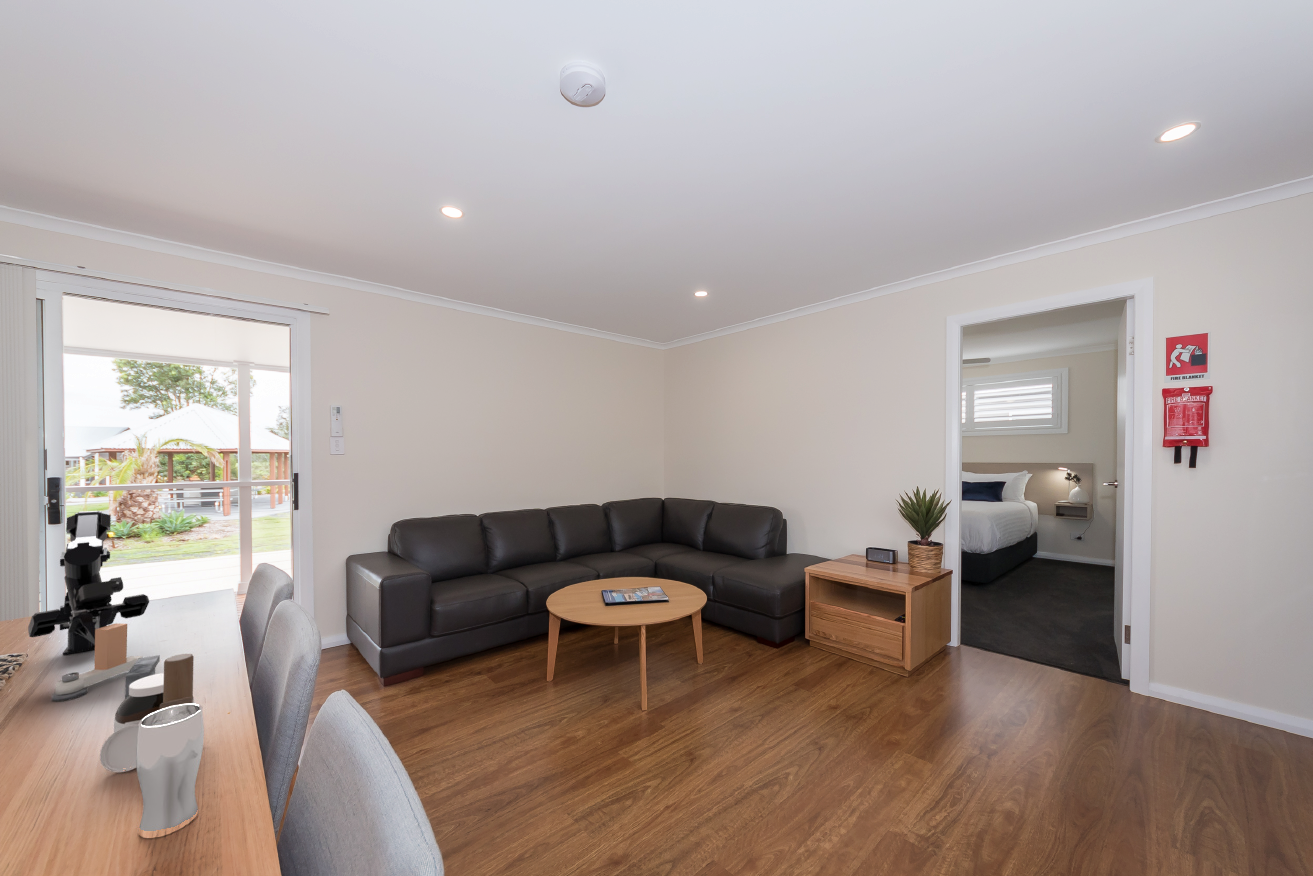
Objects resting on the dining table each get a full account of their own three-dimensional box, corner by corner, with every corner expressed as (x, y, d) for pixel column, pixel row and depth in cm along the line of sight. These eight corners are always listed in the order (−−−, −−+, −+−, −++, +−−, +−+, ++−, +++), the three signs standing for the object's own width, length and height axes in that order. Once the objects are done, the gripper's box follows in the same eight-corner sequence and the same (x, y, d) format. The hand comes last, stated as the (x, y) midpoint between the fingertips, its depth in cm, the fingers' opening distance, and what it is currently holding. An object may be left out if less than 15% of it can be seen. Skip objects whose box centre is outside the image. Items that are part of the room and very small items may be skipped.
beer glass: (213, 812, 75) (216, 707, 75) (154, 847, 68) (156, 731, 69) (182, 801, 77) (184, 699, 78) (121, 834, 71) (124, 722, 71)
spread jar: (188, 727, 98) (189, 665, 98) (201, 750, 91) (203, 682, 91) (94, 757, 88) (96, 687, 89) (101, 784, 81) (103, 708, 82)
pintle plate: (54, 695, 110) (55, 674, 110) (89, 688, 113) (90, 667, 114) (48, 704, 106) (49, 682, 106) (84, 696, 110) (85, 675, 110)
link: (67, 695, 108) (68, 642, 108) (49, 694, 108) (51, 641, 108) (144, 665, 123) (145, 618, 123) (129, 664, 123) (130, 618, 123)
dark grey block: (125, 700, 108) (125, 675, 108) (137, 681, 117) (138, 658, 117) (148, 695, 110) (148, 671, 110) (159, 677, 119) (159, 655, 119)
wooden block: (157, 800, 78) (160, 678, 78) (161, 767, 86) (163, 656, 86) (190, 789, 80) (193, 671, 80) (191, 758, 88) (193, 650, 88)
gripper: (33, 577, 115) (45, 636, 109) (147, 561, 131) (163, 612, 125) (22, 607, 118) (34, 667, 113) (135, 588, 135) (150, 639, 129)
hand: (99, 644), depth 120 cm, fingers closed
